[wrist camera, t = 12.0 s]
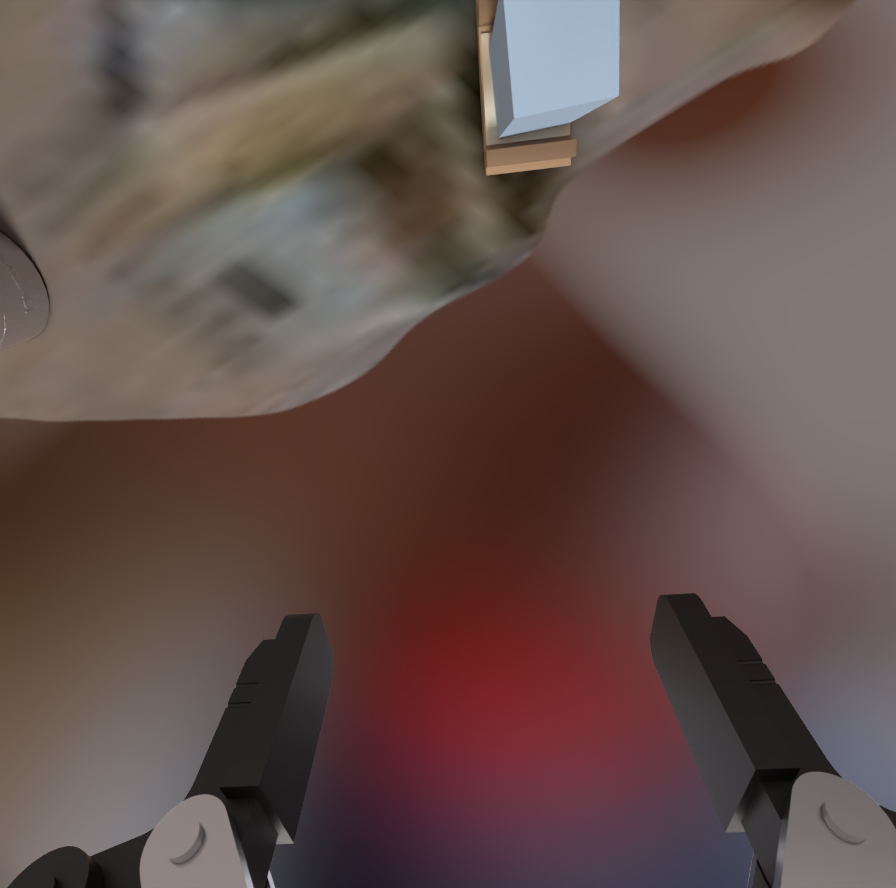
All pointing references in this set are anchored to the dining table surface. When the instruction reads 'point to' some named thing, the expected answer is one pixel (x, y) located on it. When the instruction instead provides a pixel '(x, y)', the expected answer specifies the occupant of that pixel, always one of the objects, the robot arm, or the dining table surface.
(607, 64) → the light grey block
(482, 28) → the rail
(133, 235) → the dining table surface
